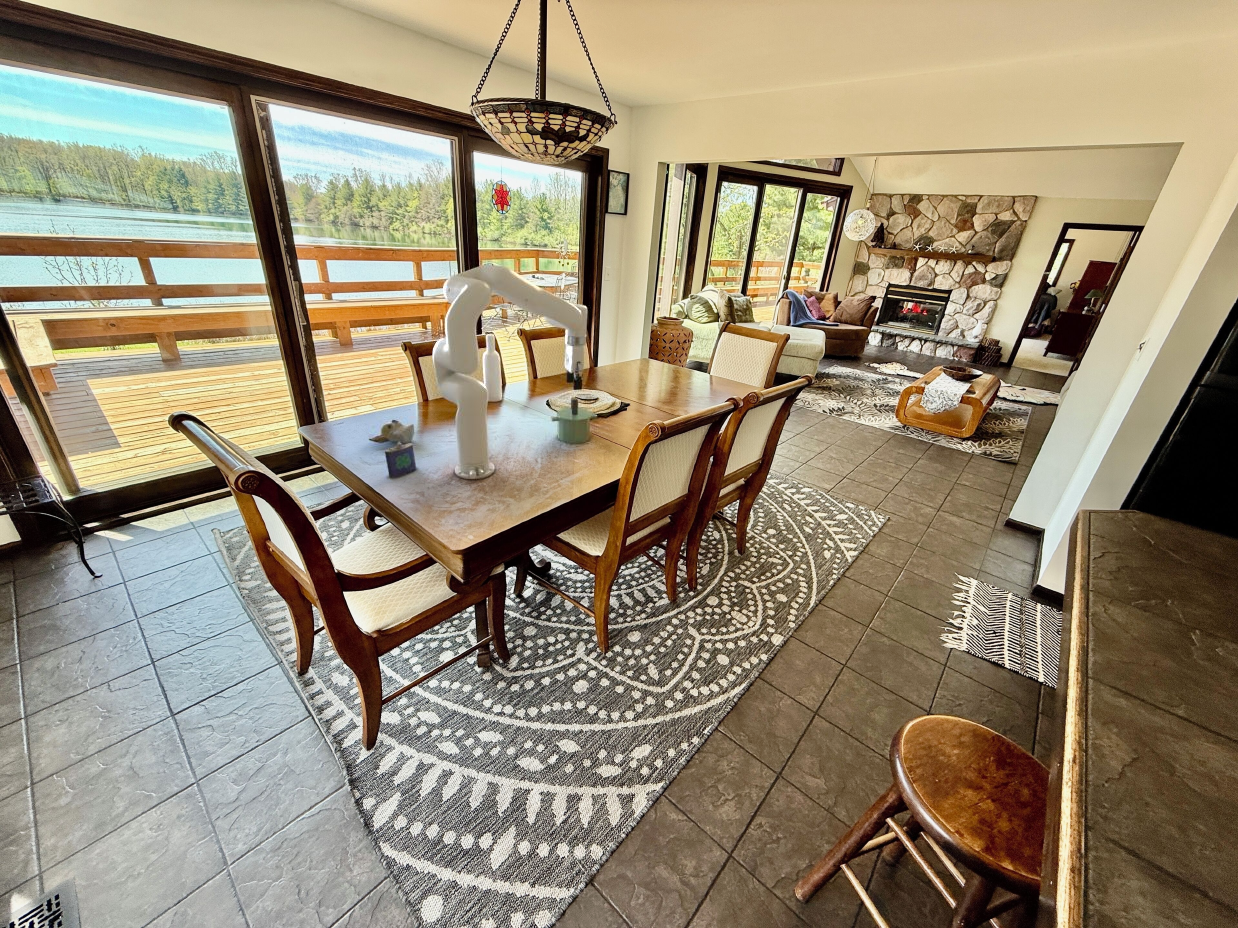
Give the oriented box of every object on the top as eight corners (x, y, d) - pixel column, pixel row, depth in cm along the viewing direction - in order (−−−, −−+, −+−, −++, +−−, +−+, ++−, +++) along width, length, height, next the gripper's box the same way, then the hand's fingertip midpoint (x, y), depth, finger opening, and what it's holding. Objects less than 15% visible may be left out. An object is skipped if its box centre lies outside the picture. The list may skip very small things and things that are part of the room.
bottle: (505, 399, 228) (503, 335, 215) (493, 403, 222) (490, 337, 209) (493, 395, 231) (490, 332, 218) (481, 399, 225) (477, 334, 212)
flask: (413, 466, 159) (409, 437, 154) (418, 469, 158) (414, 439, 153) (387, 476, 152) (382, 445, 148) (392, 479, 151) (387, 448, 146)
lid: (596, 421, 184) (597, 403, 180) (561, 423, 179) (561, 405, 176) (585, 409, 195) (586, 392, 192) (553, 411, 190) (553, 394, 187)
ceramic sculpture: (406, 425, 168) (363, 424, 168) (410, 448, 172) (369, 447, 172) (418, 415, 178) (378, 415, 178) (422, 437, 181) (383, 436, 182)
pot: (600, 441, 188) (601, 418, 184) (555, 445, 182) (555, 422, 178) (590, 429, 199) (591, 408, 195) (547, 433, 193) (547, 410, 189)
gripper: (559, 335, 180) (558, 380, 187) (572, 345, 166) (570, 393, 173) (578, 335, 183) (577, 379, 190) (592, 345, 168) (590, 392, 175)
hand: (573, 386), depth 181 cm, fingers open, 9 cm apart
